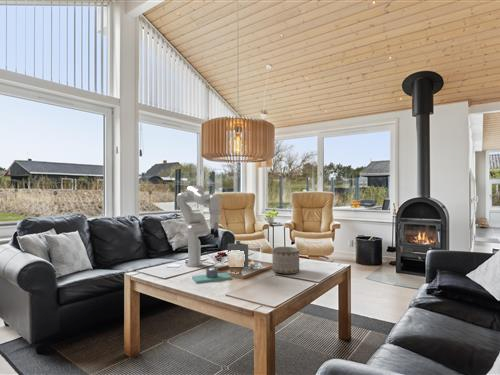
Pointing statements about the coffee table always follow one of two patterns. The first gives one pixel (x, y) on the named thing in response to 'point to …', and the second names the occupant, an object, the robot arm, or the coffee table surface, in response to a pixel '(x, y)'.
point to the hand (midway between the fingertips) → (214, 236)
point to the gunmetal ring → (211, 273)
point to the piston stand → (204, 279)
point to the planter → (285, 260)
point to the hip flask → (242, 248)
